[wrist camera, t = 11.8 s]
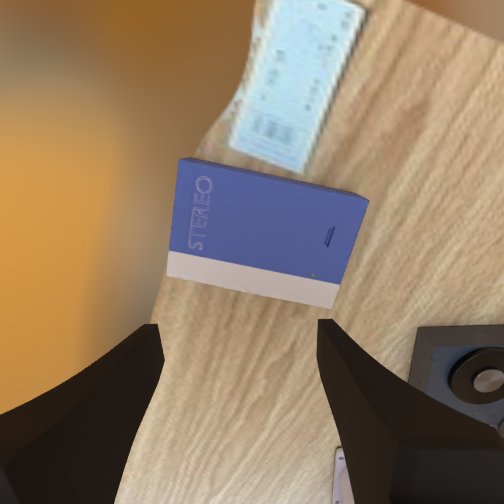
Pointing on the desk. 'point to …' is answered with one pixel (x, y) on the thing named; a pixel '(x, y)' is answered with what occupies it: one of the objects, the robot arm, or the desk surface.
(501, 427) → the knob
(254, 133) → the desk surface
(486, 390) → the burner
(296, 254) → the walkman
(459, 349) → the hot plate
